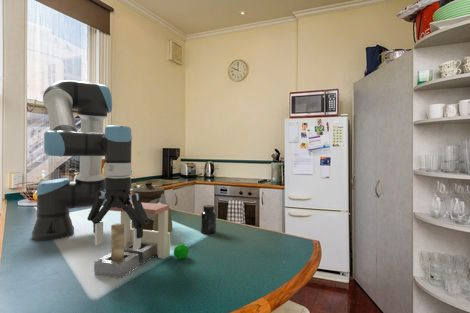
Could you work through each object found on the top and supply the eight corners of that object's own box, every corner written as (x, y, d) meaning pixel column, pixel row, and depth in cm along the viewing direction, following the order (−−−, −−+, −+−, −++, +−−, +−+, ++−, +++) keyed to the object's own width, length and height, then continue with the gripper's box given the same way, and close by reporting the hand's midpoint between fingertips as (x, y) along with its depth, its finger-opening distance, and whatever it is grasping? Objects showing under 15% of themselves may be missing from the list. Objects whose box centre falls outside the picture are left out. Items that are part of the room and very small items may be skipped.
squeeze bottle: (167, 240, 118) (168, 196, 117) (149, 238, 120) (149, 195, 119) (175, 234, 126) (176, 193, 125) (158, 233, 128) (158, 192, 127)
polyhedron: (182, 254, 103) (182, 241, 103) (191, 258, 100) (191, 244, 100) (170, 258, 99) (170, 244, 99) (180, 262, 96) (180, 248, 96)
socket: (94, 274, 86) (94, 261, 86) (114, 262, 95) (114, 250, 94) (120, 278, 83) (120, 265, 83) (138, 266, 92) (139, 254, 92)
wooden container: (151, 233, 128) (152, 183, 127) (124, 229, 133) (124, 181, 132) (170, 225, 142) (170, 180, 141) (145, 221, 147) (145, 178, 146)
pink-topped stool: (107, 259, 98) (107, 205, 97) (126, 249, 107) (126, 200, 107) (154, 265, 93) (155, 210, 92) (170, 255, 102) (170, 204, 102)
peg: (108, 272, 88) (108, 226, 87) (116, 267, 91) (116, 223, 91) (118, 273, 87) (118, 227, 86) (126, 268, 90) (126, 224, 90)
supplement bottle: (198, 231, 132) (199, 205, 131) (213, 229, 134) (213, 204, 134) (203, 235, 125) (203, 208, 125) (218, 234, 128) (218, 207, 128)
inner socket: (118, 260, 96) (118, 248, 96) (135, 251, 105) (135, 240, 105) (142, 264, 94) (142, 251, 94) (157, 254, 103) (157, 243, 103)
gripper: (74, 175, 88) (74, 245, 89) (147, 180, 81) (146, 255, 82) (93, 173, 95) (92, 238, 96) (161, 177, 88) (160, 246, 89)
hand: (117, 246), depth 89 cm, fingers open, 13 cm apart
